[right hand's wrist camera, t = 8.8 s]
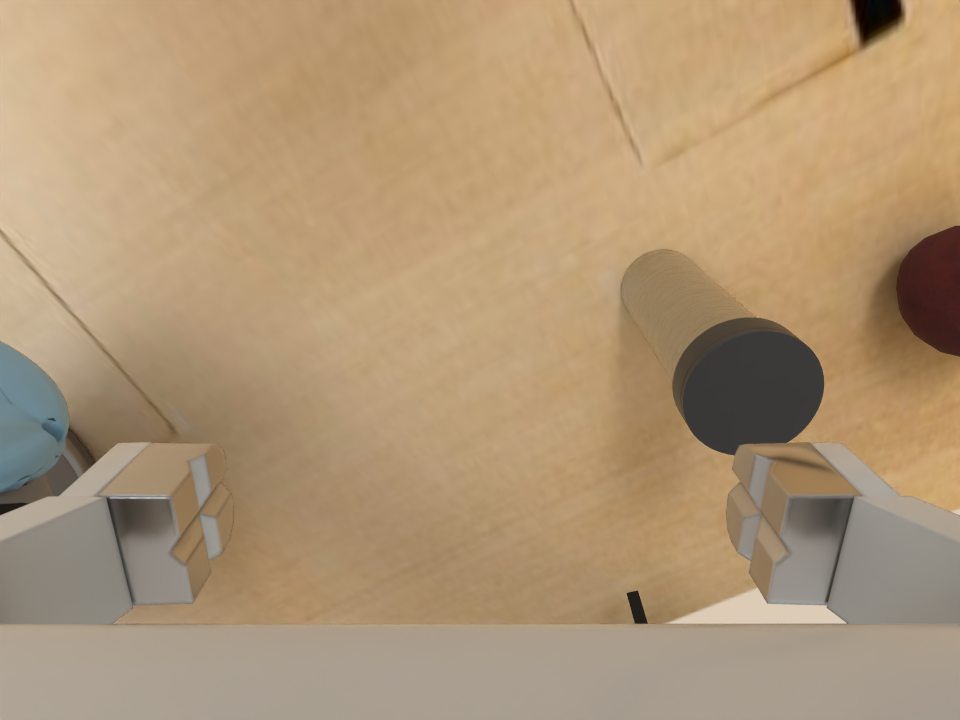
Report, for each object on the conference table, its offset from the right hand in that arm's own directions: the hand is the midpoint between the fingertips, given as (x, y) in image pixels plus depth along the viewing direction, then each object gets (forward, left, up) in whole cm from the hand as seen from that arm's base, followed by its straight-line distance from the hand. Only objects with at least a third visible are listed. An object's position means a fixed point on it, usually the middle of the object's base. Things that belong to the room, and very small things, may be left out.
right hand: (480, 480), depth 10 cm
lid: (-1, +12, -15) cm, 19 cm away
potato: (-11, +25, -30) cm, 41 cm away
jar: (-1, +12, -30) cm, 32 cm away
